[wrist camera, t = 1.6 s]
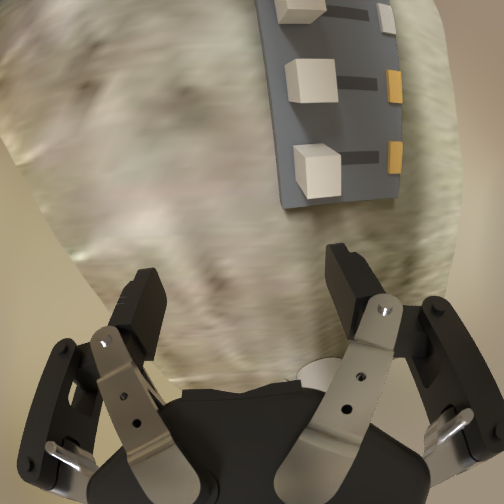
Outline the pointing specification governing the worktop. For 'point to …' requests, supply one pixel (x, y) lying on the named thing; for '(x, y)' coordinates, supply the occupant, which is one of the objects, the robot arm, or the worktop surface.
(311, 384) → the toilet tissue
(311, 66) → the slider middle
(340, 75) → the switch board
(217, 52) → the worktop surface
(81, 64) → the worktop surface
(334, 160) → the slider
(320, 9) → the slider
